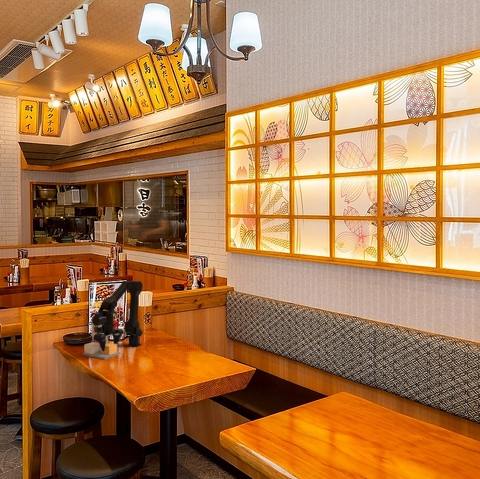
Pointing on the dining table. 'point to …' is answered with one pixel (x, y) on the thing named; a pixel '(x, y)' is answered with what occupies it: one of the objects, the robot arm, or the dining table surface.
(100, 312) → the robot arm
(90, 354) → the board
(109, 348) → the light orange block
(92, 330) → the candy bar box
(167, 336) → the dining table surface
